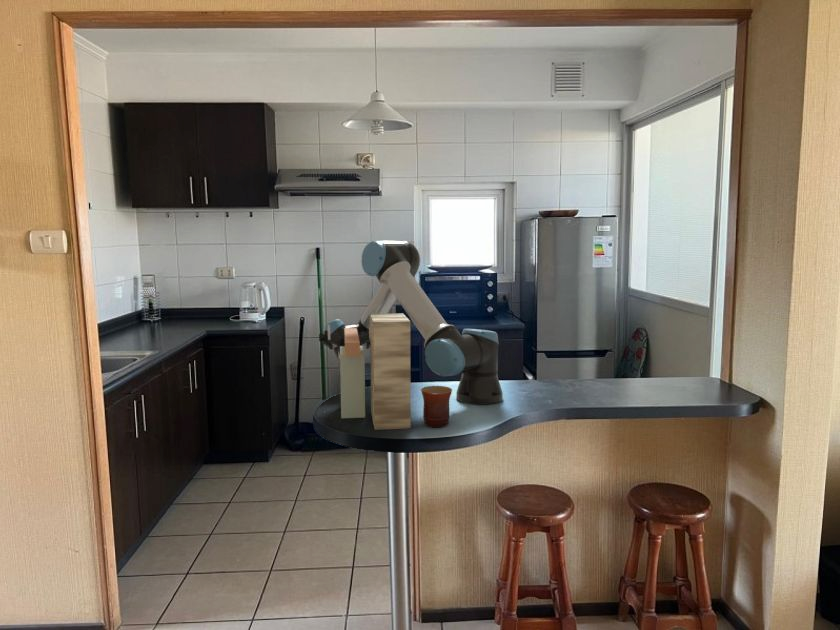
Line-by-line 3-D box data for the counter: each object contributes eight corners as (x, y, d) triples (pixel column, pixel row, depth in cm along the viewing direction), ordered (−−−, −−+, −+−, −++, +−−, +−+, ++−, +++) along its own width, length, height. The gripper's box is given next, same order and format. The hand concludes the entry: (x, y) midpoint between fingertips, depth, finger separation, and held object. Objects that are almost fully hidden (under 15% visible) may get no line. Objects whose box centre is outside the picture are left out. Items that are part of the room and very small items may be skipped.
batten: (344, 340, 198) (344, 328, 198) (356, 340, 199) (356, 328, 199) (345, 356, 171) (345, 342, 170) (359, 356, 172) (359, 342, 171)
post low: (340, 405, 190) (340, 346, 187) (363, 404, 191) (362, 345, 188) (341, 418, 176) (340, 354, 174) (365, 417, 177) (364, 354, 175)
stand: (370, 411, 183) (369, 313, 179) (403, 410, 185) (403, 313, 181) (374, 429, 166) (373, 322, 162) (410, 428, 167) (410, 321, 163)
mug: (456, 427, 168) (457, 391, 166) (427, 431, 164) (427, 394, 163) (440, 415, 179) (440, 382, 177) (412, 419, 176) (412, 384, 174)
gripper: (384, 359, 213) (389, 338, 193) (313, 361, 209) (310, 340, 190) (383, 339, 215) (388, 316, 196) (313, 341, 212) (310, 318, 193)
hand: (350, 328), depth 193 cm, fingers open, 13 cm apart
